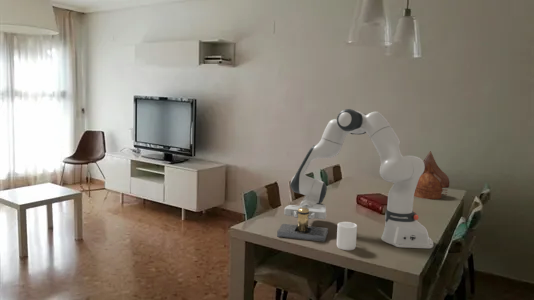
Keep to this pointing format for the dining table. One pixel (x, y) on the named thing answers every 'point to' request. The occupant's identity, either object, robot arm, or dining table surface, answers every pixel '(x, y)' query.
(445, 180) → the decorative ornament
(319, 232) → the grey recessed slab
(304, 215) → the gold cylinder
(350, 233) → the cup
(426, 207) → the dining table surface
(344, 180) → the dining table surface
